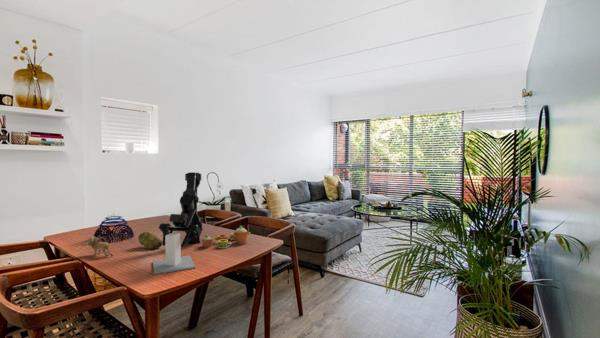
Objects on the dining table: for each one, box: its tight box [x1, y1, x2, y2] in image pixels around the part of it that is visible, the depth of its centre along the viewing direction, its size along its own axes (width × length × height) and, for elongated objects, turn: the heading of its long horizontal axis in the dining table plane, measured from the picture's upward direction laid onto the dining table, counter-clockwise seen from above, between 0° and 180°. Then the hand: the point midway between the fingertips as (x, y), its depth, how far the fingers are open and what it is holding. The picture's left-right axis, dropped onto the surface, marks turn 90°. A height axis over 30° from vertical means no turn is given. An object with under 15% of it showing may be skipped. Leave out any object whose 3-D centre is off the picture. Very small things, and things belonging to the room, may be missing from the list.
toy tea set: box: [201, 225, 251, 249], centre depth 166 cm, size 26×16×10 cm, turn 138°
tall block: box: [164, 232, 182, 266], centre depth 133 cm, size 4×4×13 cm
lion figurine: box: [85, 235, 114, 259], centre depth 145 cm, size 15×5×9 cm, turn 75°
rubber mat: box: [152, 255, 196, 276], centre depth 133 cm, size 16×16×1 cm
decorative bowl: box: [93, 212, 135, 244], centre depth 176 cm, size 20×20×14 cm
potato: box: [138, 231, 163, 250], centre depth 158 cm, size 8×13×8 cm, turn 55°
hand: (172, 246), depth 132 cm, fingers open, 9 cm apart
